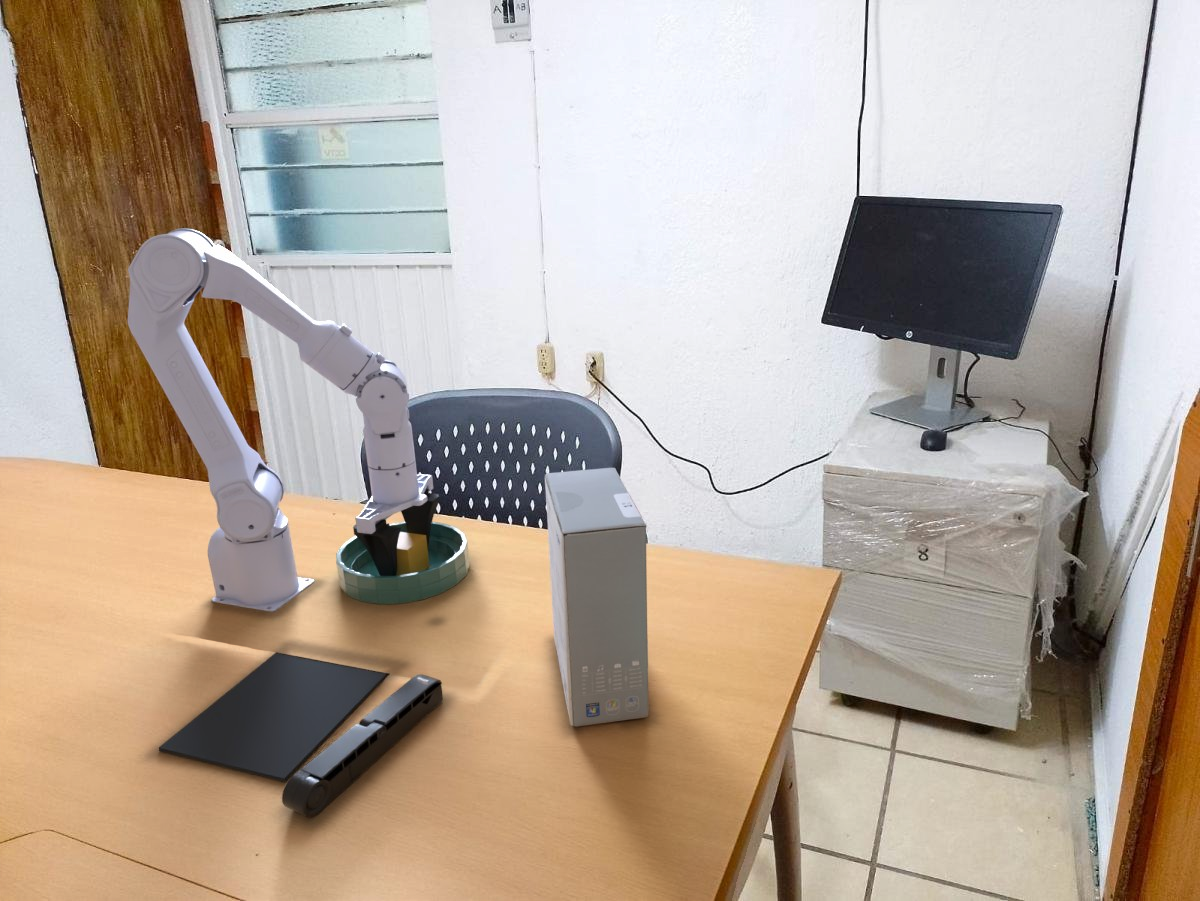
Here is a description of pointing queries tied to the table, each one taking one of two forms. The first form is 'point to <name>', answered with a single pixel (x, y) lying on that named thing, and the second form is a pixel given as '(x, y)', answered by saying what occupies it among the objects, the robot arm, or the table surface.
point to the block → (411, 553)
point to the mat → (275, 716)
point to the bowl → (440, 576)
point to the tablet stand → (361, 746)
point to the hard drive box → (598, 595)
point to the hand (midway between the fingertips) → (404, 561)
